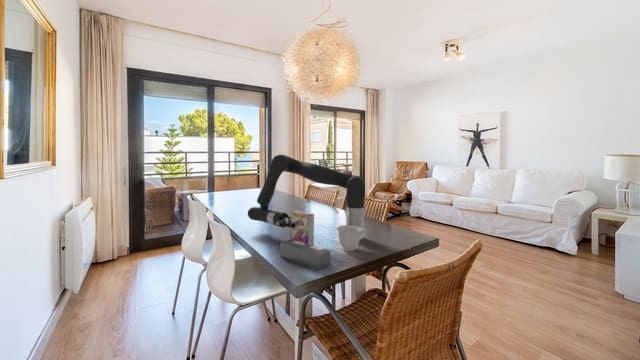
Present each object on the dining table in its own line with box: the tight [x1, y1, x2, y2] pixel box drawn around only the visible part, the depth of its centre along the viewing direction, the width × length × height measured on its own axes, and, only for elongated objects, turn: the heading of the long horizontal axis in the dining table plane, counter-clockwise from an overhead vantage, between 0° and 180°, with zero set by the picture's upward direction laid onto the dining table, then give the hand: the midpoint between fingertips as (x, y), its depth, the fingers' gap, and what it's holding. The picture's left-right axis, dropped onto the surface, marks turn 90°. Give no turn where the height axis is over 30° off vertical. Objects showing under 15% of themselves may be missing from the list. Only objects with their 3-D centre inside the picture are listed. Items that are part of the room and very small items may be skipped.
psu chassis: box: [279, 238, 331, 271], centre depth 119 cm, size 7×22×6 cm, turn 52°
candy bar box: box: [290, 210, 315, 246], centre depth 136 cm, size 11×5×16 cm, turn 55°
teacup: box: [336, 224, 368, 252], centre depth 133 cm, size 12×15×10 cm
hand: (300, 224), depth 136 cm, fingers open, 8 cm apart
